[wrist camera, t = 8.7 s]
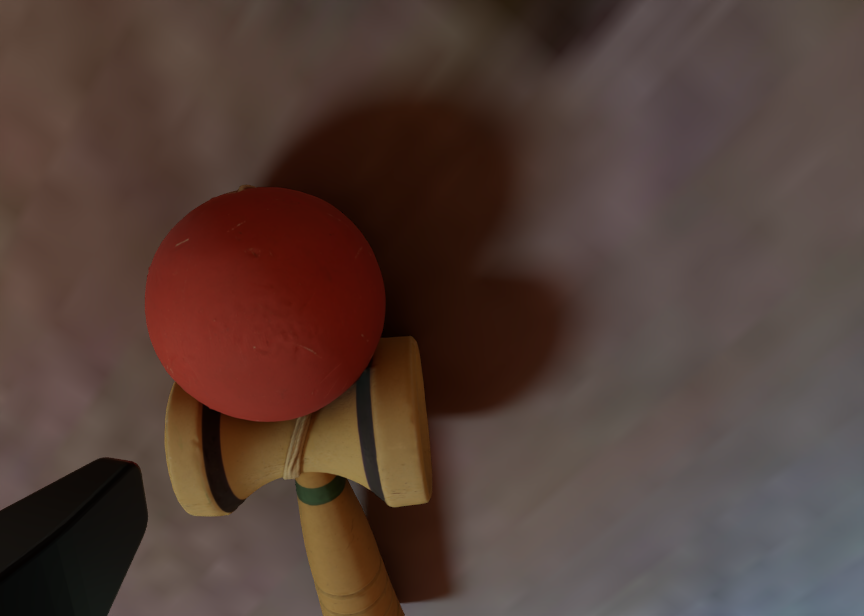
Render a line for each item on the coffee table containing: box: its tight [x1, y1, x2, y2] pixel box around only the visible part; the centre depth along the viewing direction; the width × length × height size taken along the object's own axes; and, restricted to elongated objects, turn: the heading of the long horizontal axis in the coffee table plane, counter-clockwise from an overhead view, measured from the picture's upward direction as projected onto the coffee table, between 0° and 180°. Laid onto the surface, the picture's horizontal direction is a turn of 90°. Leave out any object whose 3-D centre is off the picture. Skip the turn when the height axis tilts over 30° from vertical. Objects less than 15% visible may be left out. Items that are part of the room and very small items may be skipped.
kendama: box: [145, 185, 432, 616], centre depth 21 cm, size 8×6×18 cm
